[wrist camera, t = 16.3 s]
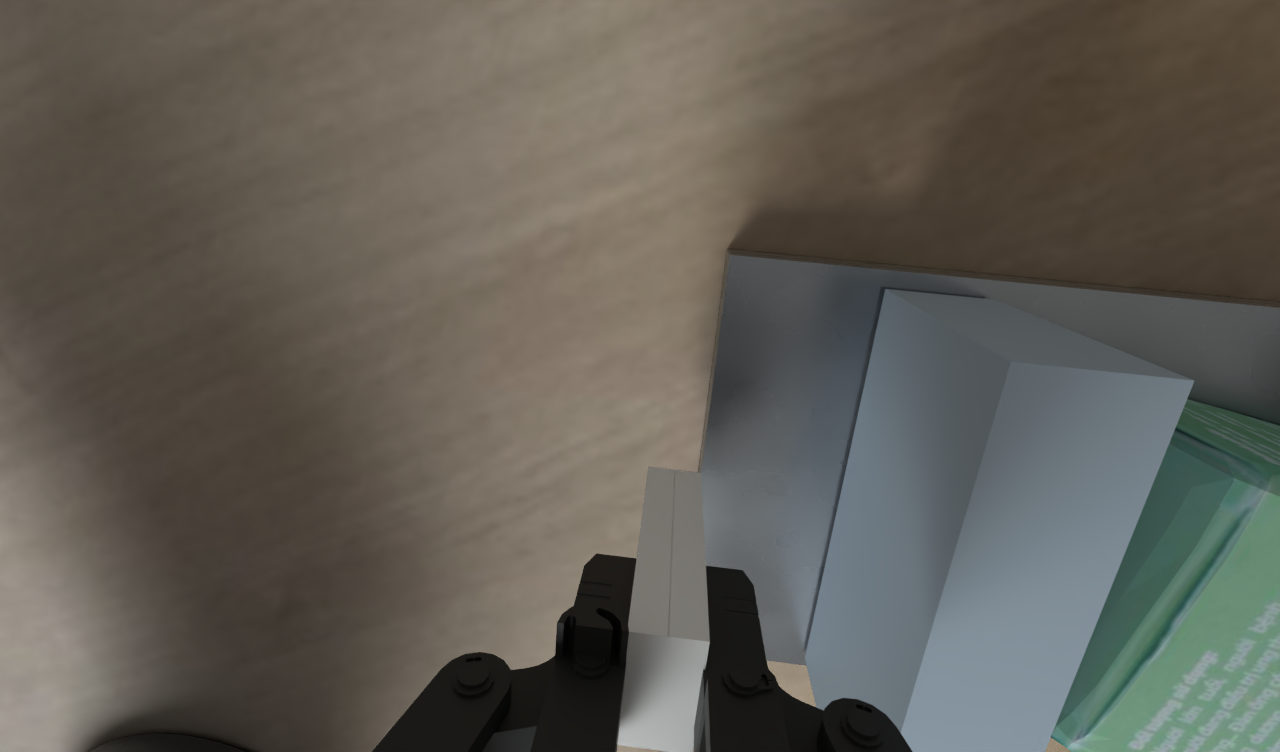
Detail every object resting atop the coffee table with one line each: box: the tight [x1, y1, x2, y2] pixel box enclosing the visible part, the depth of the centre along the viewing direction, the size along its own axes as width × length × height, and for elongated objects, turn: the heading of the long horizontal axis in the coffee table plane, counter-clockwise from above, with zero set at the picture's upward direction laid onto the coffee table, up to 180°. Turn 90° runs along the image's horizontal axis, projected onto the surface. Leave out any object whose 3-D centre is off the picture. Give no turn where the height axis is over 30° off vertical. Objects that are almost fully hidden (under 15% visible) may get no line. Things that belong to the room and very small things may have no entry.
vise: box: [698, 249, 1280, 665], centre depth 16 cm, size 26×14×8 cm, turn 85°
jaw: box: [805, 289, 1194, 752], centre depth 16 cm, size 3×13×7 cm, turn 175°
